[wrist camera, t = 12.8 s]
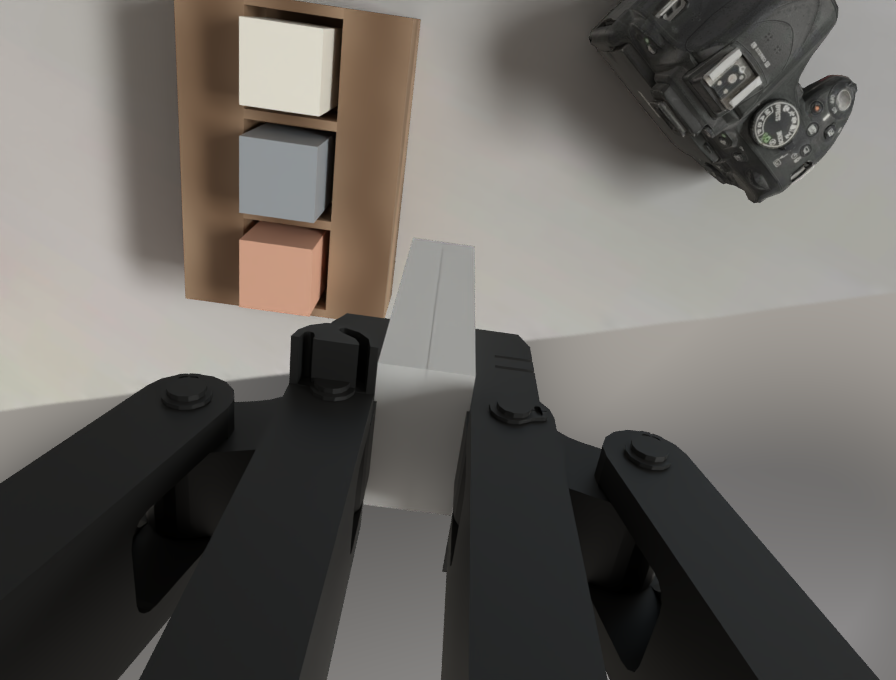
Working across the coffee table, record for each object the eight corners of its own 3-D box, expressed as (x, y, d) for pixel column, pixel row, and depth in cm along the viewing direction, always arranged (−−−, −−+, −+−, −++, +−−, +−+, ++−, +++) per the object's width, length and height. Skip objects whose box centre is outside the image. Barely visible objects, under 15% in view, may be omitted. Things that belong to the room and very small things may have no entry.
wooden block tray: (214, 270, 44) (185, 298, 40) (209, -13, 37) (173, -18, 33) (391, 295, 45) (382, 325, 40) (420, 19, 38) (413, 18, 33)
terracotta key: (264, 276, 42) (239, 306, 38) (265, 215, 40) (239, 239, 36) (326, 285, 42) (309, 316, 38) (330, 225, 40) (312, 249, 36)
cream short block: (267, 95, 37) (239, 104, 33) (268, 17, 36) (238, 16, 31) (337, 105, 37) (319, 116, 33) (342, 28, 36) (323, 28, 31)
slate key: (265, 191, 40) (239, 212, 35) (266, 122, 38) (239, 135, 33) (331, 200, 40) (313, 223, 35) (336, 132, 38) (317, 147, 34)
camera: (845, 31, 37) (964, 32, 28) (744, 192, 41) (820, 239, 32) (637, -77, 35) (693, -112, 26) (552, 104, 39) (576, 127, 30)
